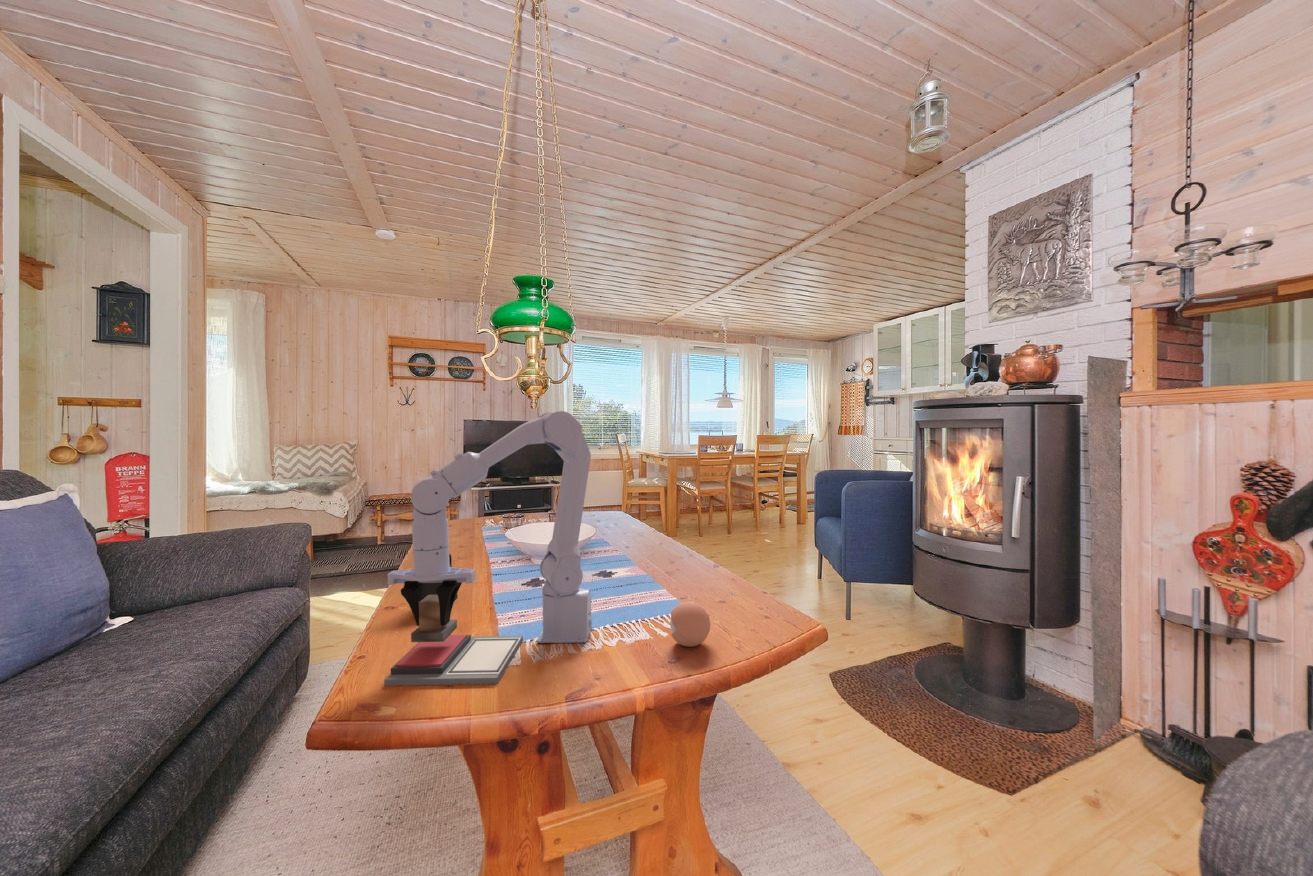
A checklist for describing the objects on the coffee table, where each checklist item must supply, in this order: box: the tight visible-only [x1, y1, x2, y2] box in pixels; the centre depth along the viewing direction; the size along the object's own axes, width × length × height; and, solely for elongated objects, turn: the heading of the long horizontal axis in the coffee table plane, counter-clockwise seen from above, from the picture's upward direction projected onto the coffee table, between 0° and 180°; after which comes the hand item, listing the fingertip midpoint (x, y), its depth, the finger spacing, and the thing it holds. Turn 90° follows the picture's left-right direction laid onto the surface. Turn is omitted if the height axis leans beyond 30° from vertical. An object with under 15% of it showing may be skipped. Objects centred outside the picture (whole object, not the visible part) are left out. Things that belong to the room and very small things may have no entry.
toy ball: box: [669, 600, 711, 648], centre depth 87 cm, size 8×8×8 cm
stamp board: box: [383, 634, 524, 687], centre depth 82 cm, size 18×15×2 cm
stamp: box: [410, 595, 458, 643], centre depth 82 cm, size 6×6×6 cm
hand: (433, 623), depth 82 cm, fingers closed on stamp, 4 cm apart
